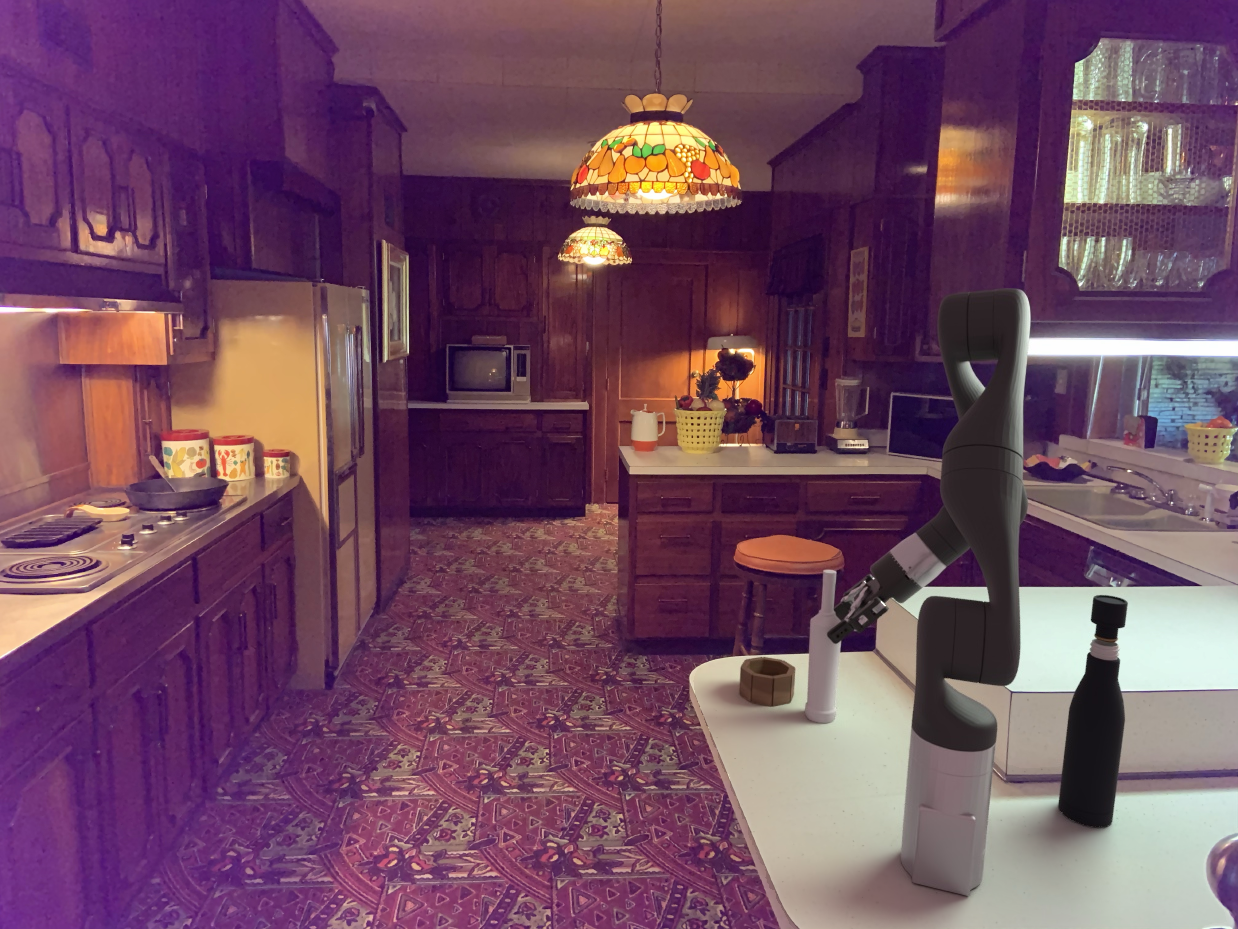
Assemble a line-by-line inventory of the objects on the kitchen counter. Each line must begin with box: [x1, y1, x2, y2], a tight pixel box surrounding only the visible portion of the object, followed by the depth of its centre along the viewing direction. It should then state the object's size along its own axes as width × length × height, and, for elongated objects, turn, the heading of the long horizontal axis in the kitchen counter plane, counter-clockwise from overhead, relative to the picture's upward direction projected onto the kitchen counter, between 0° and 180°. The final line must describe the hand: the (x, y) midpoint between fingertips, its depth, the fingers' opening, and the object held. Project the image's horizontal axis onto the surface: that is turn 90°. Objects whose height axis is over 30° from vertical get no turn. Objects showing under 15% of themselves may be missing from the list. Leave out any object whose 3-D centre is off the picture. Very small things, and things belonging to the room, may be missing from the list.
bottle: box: [804, 569, 842, 724], centre depth 137 cm, size 5×5×25 cm
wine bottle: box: [1057, 594, 1129, 828], centre depth 110 cm, size 6×6×30 cm
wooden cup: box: [738, 656, 796, 707], centre depth 147 cm, size 9×9×5 cm
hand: (829, 630), depth 137 cm, fingers open, 8 cm apart
